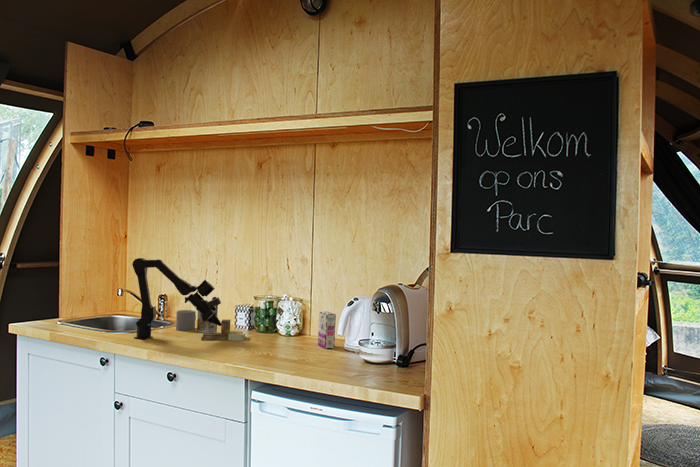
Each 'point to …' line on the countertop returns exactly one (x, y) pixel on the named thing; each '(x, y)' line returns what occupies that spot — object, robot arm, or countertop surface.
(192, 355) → the countertop surface
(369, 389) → the countertop surface
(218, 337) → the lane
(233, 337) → the grey-green flat block
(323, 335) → the candy bar box
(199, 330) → the coffee box
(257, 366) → the countertop surface
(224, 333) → the brown wooden box
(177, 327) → the coffee mug
